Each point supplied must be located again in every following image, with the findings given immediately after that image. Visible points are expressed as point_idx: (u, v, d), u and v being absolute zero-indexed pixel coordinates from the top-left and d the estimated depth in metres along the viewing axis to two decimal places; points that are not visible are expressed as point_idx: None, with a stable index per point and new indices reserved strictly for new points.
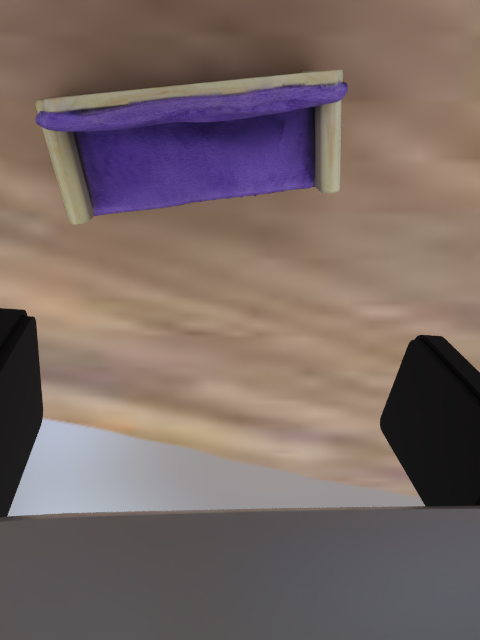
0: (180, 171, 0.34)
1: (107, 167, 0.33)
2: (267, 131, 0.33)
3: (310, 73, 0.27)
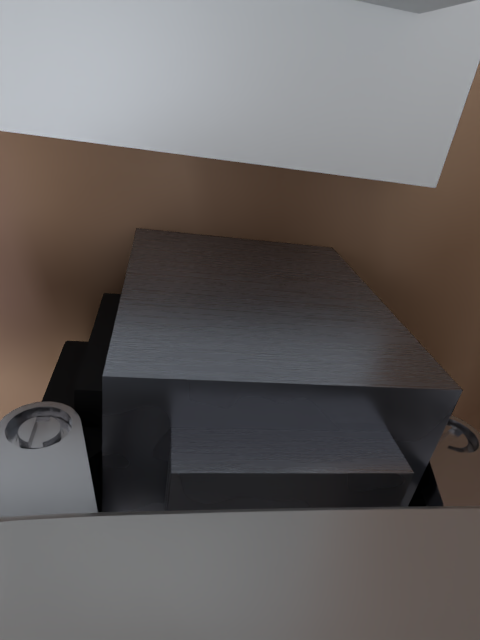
0: None
1: None
2: None
3: None
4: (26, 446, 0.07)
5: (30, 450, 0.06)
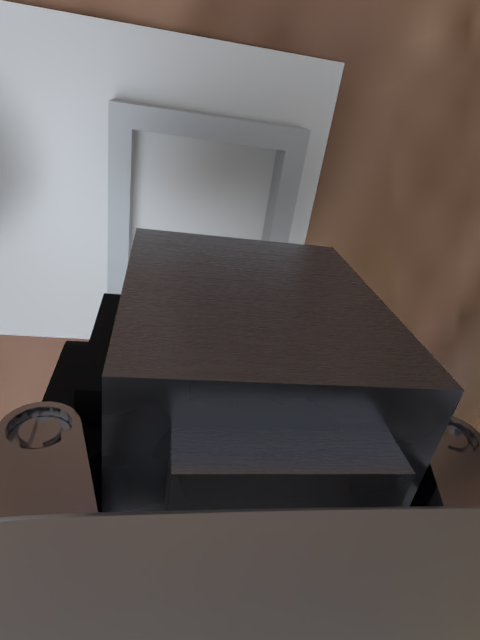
0: None
1: None
2: None
3: None
4: (26, 446, 0.07)
5: (30, 450, 0.06)
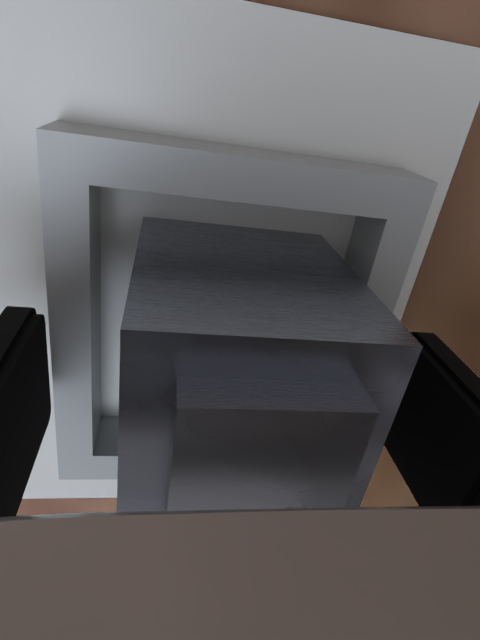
0: None
1: None
2: None
3: None
4: None
5: None
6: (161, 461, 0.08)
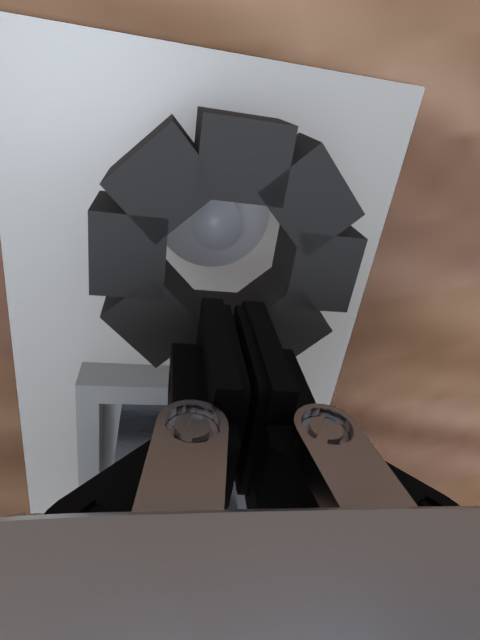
0: None
1: None
2: None
3: None
4: (178, 437, 0.07)
5: (180, 442, 0.07)
6: None
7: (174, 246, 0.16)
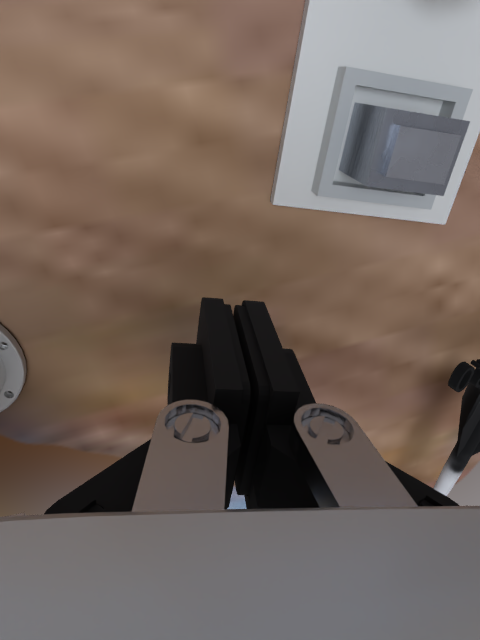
0: None
1: None
2: None
3: None
4: (178, 437, 0.07)
5: (180, 442, 0.07)
6: (429, 127, 0.30)
7: None
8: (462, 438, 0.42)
